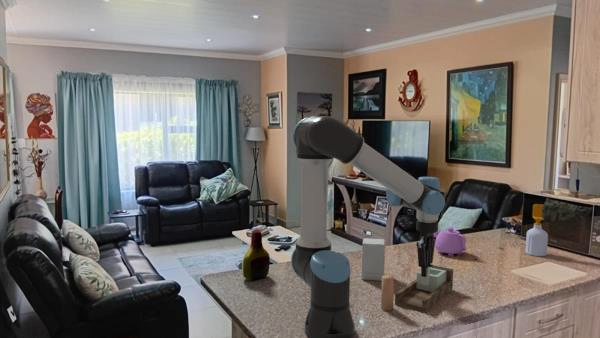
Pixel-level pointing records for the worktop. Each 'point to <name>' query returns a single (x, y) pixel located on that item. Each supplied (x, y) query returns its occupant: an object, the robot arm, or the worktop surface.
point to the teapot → (450, 242)
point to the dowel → (387, 293)
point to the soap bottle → (537, 235)
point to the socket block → (432, 279)
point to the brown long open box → (423, 293)
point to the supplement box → (373, 259)
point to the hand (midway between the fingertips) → (424, 284)
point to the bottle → (256, 258)
